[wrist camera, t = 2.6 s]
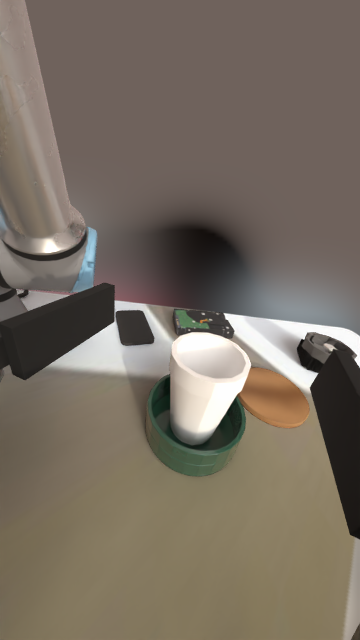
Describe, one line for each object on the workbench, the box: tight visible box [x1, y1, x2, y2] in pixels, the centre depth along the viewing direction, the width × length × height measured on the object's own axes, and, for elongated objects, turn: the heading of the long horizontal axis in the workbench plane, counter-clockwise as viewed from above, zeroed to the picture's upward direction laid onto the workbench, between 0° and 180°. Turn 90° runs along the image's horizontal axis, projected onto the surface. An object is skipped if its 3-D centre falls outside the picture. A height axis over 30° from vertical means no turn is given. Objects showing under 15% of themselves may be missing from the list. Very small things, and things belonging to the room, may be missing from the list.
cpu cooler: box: [297, 332, 357, 373], centre depth 49 cm, size 10×6×10 cm
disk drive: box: [173, 309, 234, 338], centre depth 57 cm, size 10×3×15 cm
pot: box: [145, 374, 246, 476], centre depth 30 cm, size 13×13×4 cm
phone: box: [116, 310, 154, 345], centre depth 52 cm, size 7×1×15 cm
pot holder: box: [237, 367, 309, 428], centre depth 39 cm, size 13×13×1 cm
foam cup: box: [169, 332, 251, 445], centre depth 28 cm, size 10×9×13 cm
